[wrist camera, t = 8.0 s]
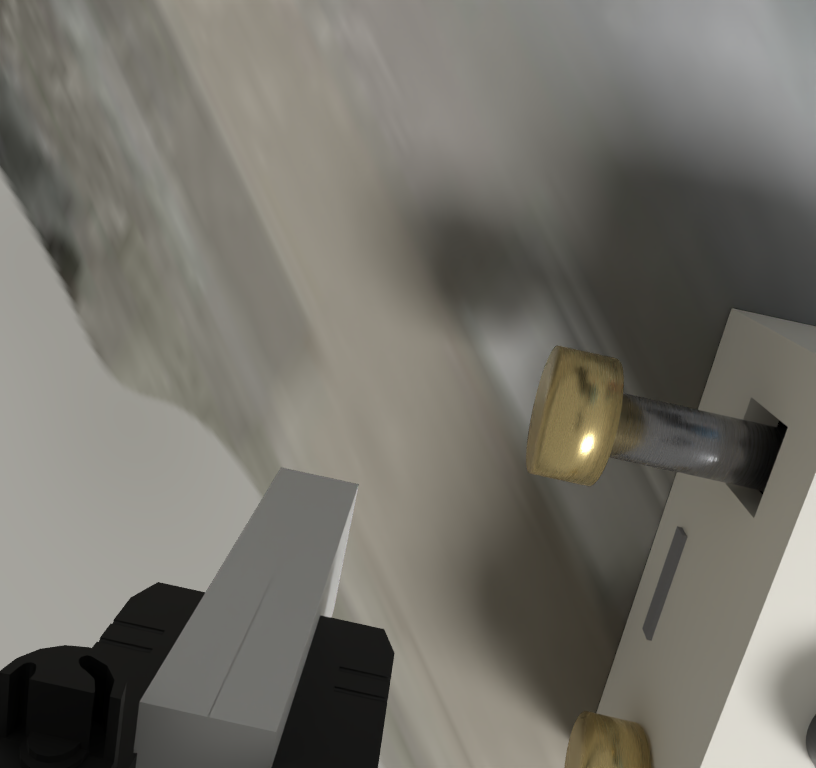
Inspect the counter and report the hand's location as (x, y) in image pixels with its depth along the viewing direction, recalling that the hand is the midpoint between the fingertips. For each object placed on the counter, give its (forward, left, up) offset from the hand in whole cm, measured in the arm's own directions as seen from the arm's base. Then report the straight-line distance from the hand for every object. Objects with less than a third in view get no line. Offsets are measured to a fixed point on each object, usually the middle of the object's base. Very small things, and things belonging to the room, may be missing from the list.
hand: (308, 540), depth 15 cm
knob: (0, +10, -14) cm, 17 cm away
